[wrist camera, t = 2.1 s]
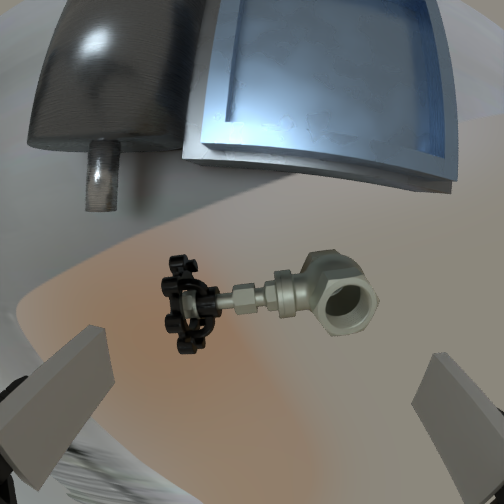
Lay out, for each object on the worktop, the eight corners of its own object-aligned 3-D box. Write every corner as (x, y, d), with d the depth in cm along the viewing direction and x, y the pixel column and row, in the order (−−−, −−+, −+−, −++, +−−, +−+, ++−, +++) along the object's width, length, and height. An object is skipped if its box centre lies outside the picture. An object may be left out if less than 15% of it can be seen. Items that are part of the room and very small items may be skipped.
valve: (347, 224, 20) (183, 246, 20) (383, 241, 13) (150, 271, 14) (351, 308, 21) (200, 326, 22) (381, 351, 15) (179, 375, 15)
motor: (84, 203, 20) (-8, 218, 10) (114, 23, 16) (56, -30, 6) (409, 229, 19) (496, 260, 10) (409, 39, 16) (469, -14, 6)
